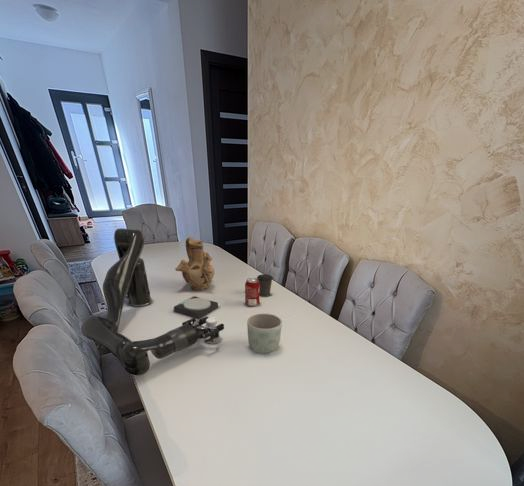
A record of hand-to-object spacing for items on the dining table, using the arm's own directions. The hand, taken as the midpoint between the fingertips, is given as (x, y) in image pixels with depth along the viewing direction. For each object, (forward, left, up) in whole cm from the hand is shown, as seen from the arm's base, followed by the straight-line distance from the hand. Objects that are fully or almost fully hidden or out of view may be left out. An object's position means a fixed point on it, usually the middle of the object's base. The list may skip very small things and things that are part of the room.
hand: (215, 322), depth 116 cm
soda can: (+8, +34, -7) cm, 36 cm away
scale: (-16, +23, -7) cm, 29 cm away
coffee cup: (+12, +47, -7) cm, 49 cm away
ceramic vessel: (-23, +48, -7) cm, 54 cm away
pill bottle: (-1, -2, -7) cm, 7 cm away
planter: (+19, -3, -7) cm, 20 cm away
